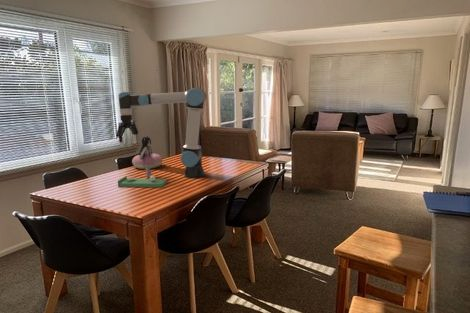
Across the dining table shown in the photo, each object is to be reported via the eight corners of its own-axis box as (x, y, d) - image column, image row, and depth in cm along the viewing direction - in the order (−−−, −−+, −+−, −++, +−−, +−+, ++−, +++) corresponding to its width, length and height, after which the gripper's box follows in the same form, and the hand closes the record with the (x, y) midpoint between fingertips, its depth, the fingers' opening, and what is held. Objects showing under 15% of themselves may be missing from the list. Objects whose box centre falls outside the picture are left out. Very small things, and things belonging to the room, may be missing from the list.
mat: (167, 182, 229) (166, 176, 228) (161, 187, 217) (161, 181, 217) (125, 181, 232) (125, 176, 231) (118, 186, 220) (117, 180, 219)
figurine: (147, 180, 234) (145, 139, 228) (134, 180, 236) (131, 138, 230) (160, 173, 255) (158, 134, 249) (148, 172, 257) (146, 134, 251)
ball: (156, 180, 225) (156, 174, 224) (154, 182, 221) (154, 176, 221) (151, 180, 226) (150, 174, 225) (149, 182, 222) (148, 176, 221)
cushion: (165, 163, 291) (164, 152, 289) (160, 170, 266) (159, 157, 264) (136, 163, 290) (136, 152, 288) (128, 170, 265) (127, 158, 263)
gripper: (133, 113, 240) (135, 142, 244) (108, 116, 217) (111, 147, 221) (141, 113, 237) (144, 142, 241) (117, 116, 214) (120, 148, 218)
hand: (128, 145), depth 231 cm, fingers open, 13 cm apart
